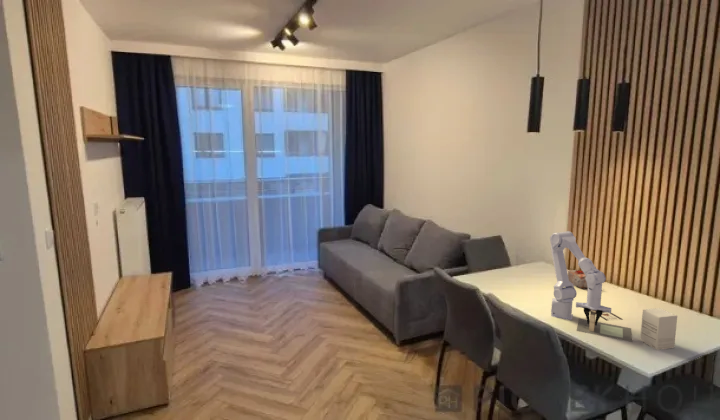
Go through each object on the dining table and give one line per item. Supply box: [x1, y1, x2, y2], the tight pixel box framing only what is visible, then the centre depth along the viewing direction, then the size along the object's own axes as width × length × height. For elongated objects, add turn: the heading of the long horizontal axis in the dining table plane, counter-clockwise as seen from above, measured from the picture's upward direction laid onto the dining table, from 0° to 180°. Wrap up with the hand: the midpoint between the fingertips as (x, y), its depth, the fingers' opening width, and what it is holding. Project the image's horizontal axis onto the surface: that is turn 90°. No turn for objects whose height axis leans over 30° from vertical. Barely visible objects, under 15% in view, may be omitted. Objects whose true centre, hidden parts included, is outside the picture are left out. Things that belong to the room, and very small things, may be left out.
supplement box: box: [639, 307, 678, 351], centre depth 175 cm, size 9×9×15 cm
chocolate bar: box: [590, 309, 624, 321], centre depth 209 cm, size 9×1×18 cm
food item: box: [567, 269, 588, 289], centre depth 251 cm, size 14×8×10 cm, turn 11°
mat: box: [576, 318, 633, 343], centre depth 190 cm, size 22×16×1 cm
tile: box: [589, 310, 596, 332], centre depth 191 cm, size 6×2×8 cm, turn 148°
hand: (592, 324), depth 191 cm, fingers open, 2 cm apart
